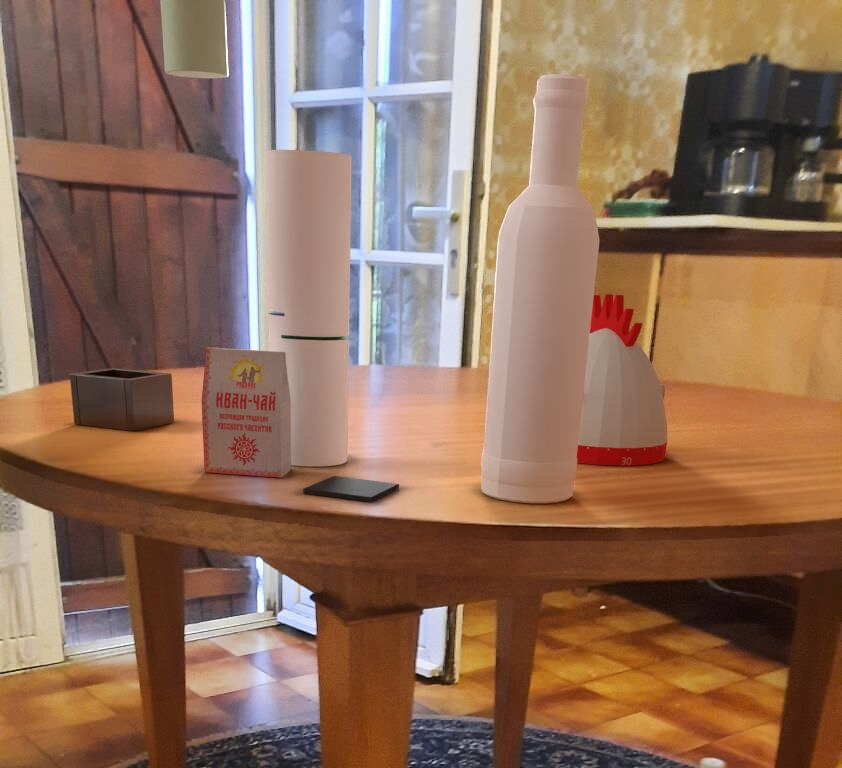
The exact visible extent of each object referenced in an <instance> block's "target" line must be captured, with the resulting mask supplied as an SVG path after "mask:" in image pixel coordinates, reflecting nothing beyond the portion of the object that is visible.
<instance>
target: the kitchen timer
mask: <svg viewBox="0 0 842 768" xmlns="http://www.w3.org/2000/svg"><path fill="white" fill-rule="evenodd" d="M624 305H625V296H624V295H623V294H615V296H614V294H613V293H605V294H604V297H603V300H602V299H601V294H594V297H593V307H592V316H591V326H590V335H589V345H588V354H587V364H586V373H585V383H584V392H583V402H582V411H581V421H580V430H579V439H578V449H577V464H586V465H596V466H615V467H617V466H618V467H619V466H620V467H621V466H624V467H625V466H643V465H654V464H656V463H657V464H658V463H661V462H663V461H664V460H665V459H666V453H667V445H668V423H667V415H666V407H665V402H664V401H665V397H666V387H665V385H664V384H661V383H660V381H659V378H658V375H657V373H656V370H655V367H654V366H653V364H652V362H651V360H650V358H649V357H648V356H647V353H646V352H645V351H644V349H643V348H642V347H641V346H640V345H639V344H638V343H637V340H638V338H639V335H640V333H641V330H642V327H643V322H634V323H633V325H632V326H631V322H632V320H633V315H634V313H635V312H634V311H635V309H634V308H625V309H624V307H625V306H624ZM630 327H631V328H630Z"/></svg>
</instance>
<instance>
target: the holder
mask: <svg viewBox="0 0 842 768" xmlns="http://www.w3.org/2000/svg"><path fill="white" fill-rule="evenodd" d="M69 381H70V394H71V402H72V404H71V405H72V413H73V414H72V415H73V424H74V425H76V426H86V427H94V428H102V429H109V430H110V429H111V430H119V431H120V430H121V431H128V432H139V431H144V430H147V429H151V428H155V427H160V426H164V425H169V424H173V423H175V413H174V410H175V409H174V392H173V376H172V373H170V372H159V371H148V370H139V369H130V368H129V369H127V368H117V367H110V368H103V369H102V368H101V369H96V370H89V371H88V370H87V371H80V372H74V373H69Z"/></svg>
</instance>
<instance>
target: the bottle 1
mask: <svg viewBox="0 0 842 768" xmlns="http://www.w3.org/2000/svg"><path fill="white" fill-rule="evenodd" d="M159 1H160V13H161V14H160V16H161V17H160V18H161V31H162V32H161V33H162V45H163V46H162V49H163V63H164V64H163V65H164V73H165V74H166V75H170V76H175V77H182V78H193V79H224V78H228V77H229V63H228V62H229V60H228V59H229V58H228V39H227V38H228V37H227V16H226V14H227V13H226V12H227V11H226V0H159Z"/></svg>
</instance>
